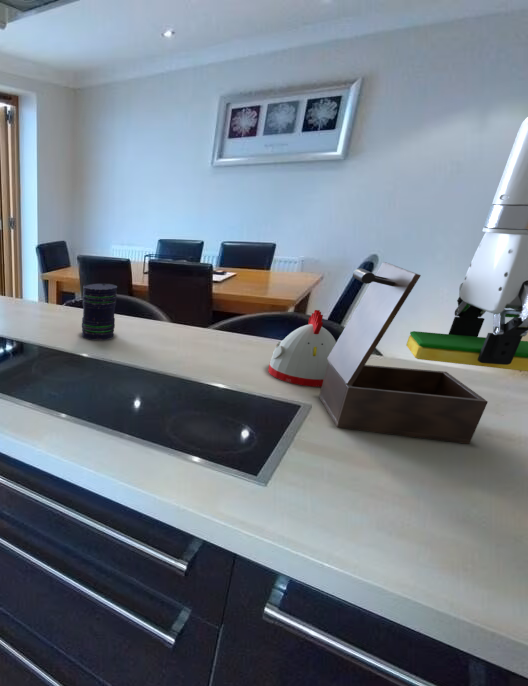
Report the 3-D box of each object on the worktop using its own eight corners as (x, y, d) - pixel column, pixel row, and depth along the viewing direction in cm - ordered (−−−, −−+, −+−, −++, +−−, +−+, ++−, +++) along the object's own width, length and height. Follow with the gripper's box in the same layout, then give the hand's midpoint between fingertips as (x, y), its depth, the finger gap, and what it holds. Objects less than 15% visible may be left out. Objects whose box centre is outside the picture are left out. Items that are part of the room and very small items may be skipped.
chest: (431, 409, 84) (446, 371, 81) (469, 444, 72) (488, 401, 69) (318, 397, 90) (328, 361, 87) (336, 427, 79) (348, 387, 76)
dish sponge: (555, 375, 56) (564, 357, 55) (415, 359, 63) (420, 343, 62) (531, 358, 62) (539, 341, 61) (405, 345, 68) (410, 330, 67)
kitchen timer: (272, 382, 98) (286, 316, 92) (264, 361, 110) (277, 302, 104) (346, 390, 93) (366, 321, 87) (330, 367, 105) (347, 305, 99)
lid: (387, 262, 78) (353, 254, 79) (421, 275, 66) (380, 265, 68) (331, 360, 87) (300, 351, 88) (351, 385, 75) (316, 375, 77)
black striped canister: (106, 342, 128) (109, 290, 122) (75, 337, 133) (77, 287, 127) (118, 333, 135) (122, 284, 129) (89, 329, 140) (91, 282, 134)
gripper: (629, 224, 46) (554, 378, 53) (523, 216, 61) (475, 337, 68) (534, 225, 49) (474, 372, 56) (454, 217, 64) (415, 333, 71)
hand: (475, 352), depth 62 cm, fingers closed on dish sponge, 7 cm apart
